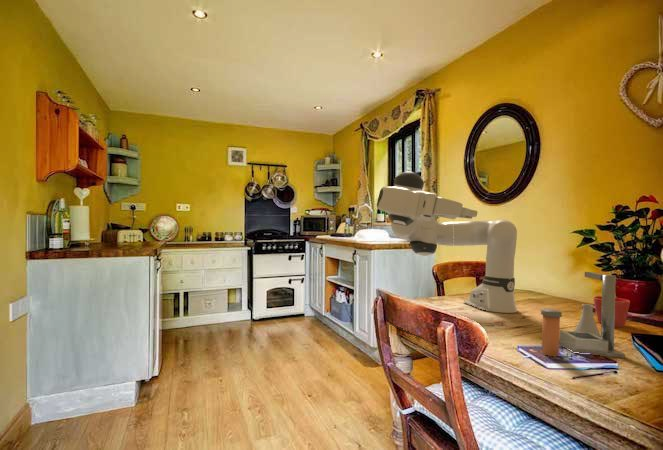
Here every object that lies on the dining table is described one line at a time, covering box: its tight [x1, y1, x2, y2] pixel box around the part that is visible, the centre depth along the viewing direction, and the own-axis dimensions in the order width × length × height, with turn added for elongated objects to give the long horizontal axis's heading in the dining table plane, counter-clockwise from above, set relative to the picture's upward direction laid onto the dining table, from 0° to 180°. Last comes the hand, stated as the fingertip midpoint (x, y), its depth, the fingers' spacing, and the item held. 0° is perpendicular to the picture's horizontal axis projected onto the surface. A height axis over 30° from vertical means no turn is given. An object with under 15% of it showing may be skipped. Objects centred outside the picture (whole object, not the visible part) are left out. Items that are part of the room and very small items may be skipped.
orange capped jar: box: [540, 308, 563, 357], centre depth 95 cm, size 5×5×12 cm
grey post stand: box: [559, 271, 626, 359], centre depth 102 cm, size 13×15×22 cm
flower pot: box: [593, 295, 631, 328], centre depth 129 cm, size 11×11×10 cm
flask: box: [573, 303, 601, 338], centre depth 115 cm, size 7×7×10 cm
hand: (474, 215), depth 103 cm, fingers open, 8 cm apart
